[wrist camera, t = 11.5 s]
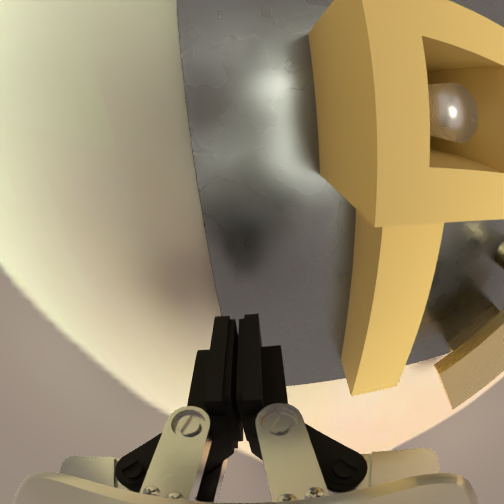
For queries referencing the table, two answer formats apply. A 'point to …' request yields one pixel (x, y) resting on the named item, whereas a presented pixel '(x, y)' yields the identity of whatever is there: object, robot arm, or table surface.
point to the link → (402, 157)
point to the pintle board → (316, 199)
